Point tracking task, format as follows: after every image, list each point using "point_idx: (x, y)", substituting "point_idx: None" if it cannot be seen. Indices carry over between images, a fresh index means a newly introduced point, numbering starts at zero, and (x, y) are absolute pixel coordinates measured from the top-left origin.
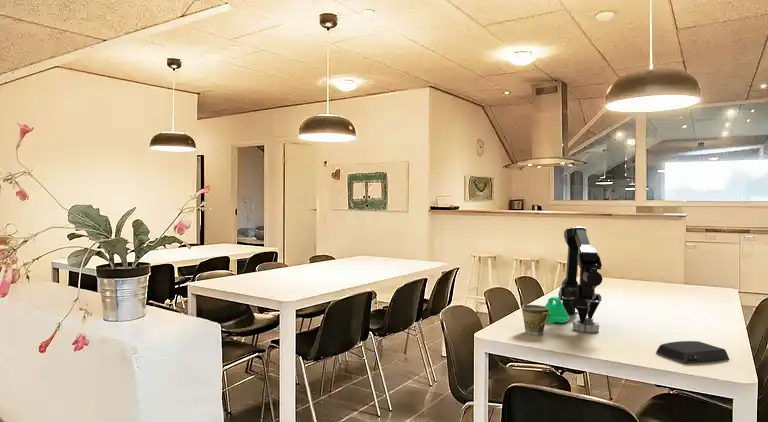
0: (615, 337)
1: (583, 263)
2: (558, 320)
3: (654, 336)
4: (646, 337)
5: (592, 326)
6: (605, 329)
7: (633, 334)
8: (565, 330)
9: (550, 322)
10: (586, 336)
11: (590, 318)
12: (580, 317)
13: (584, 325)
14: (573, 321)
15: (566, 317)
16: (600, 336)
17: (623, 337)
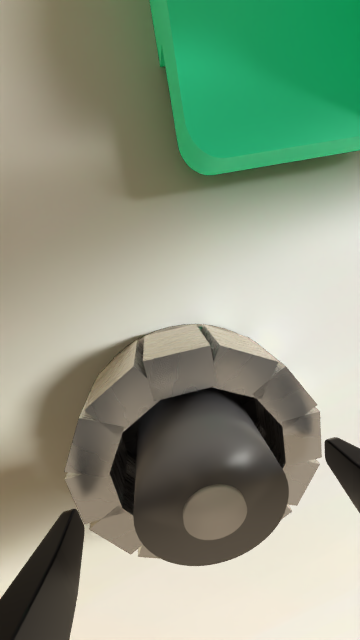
0: (167, 593)
1: None
2: (178, 111)
3: (351, 631)
4: (303, 632)
5: (138, 547)
6: (320, 468)
7: (318, 585)
8: (5, 339)
9: (153, 8)
10: (6, 524)
11: (282, 511)
12: (3, 617)
13: (83, 517)
14: (131, 373)
15: (343, 138)
16: (105, 555)
17: (207, 604)
